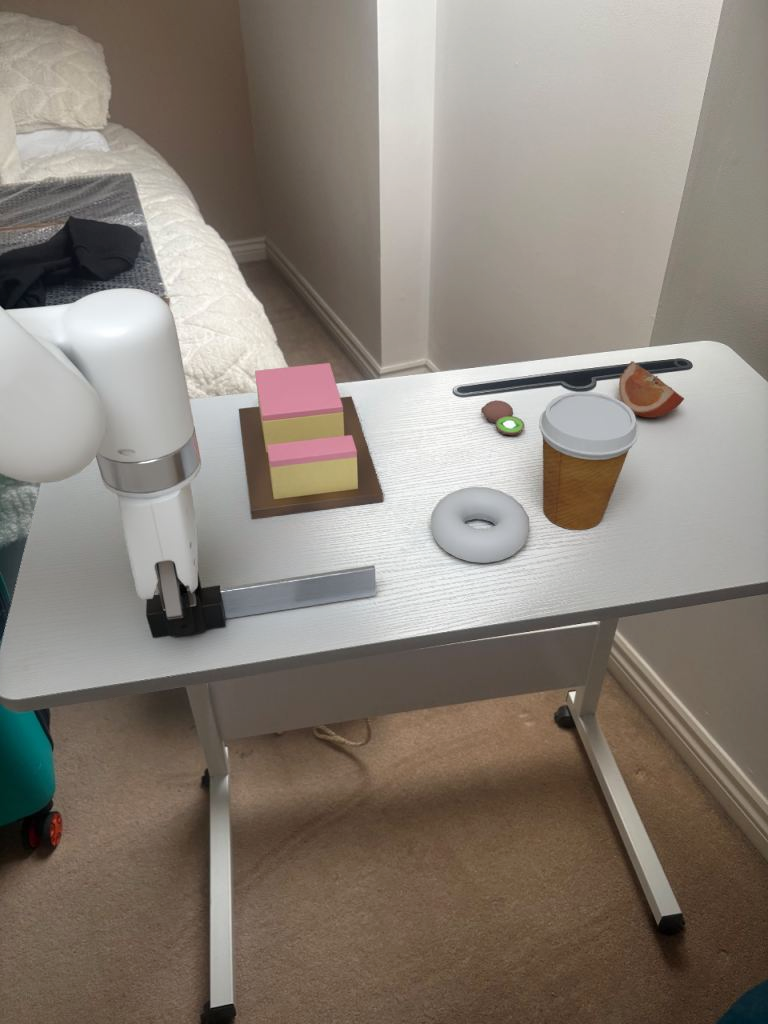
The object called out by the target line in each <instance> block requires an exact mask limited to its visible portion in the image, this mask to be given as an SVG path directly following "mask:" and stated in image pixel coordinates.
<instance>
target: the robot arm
mask: <svg viewBox="0 0 768 1024" xmlns="http://www.w3.org/2000/svg"><path fill="white" fill-rule="evenodd" d="M178 337H179V336H178V331H177V326H176V321H175V317H174V314H173V311H172V310H171V308H170V306H169V305H168V303H167V302H166V301H165V300H164V299H163V298H162V297H160V296H159V295H157V294H155V293H153V292H151V291H148V290H145V289H140V288H131V287H121V288H120V287H119V288H111V289H110V288H109V289H105V290H100V291H96V292H93V293H90V294H88V295H84V296H83V297H81V298H79V299H78V300H76V301H73V302H70V303H65V304H55V305H47V306H46V305H45V306H37V307H36V306H35V307H23V308H12V309H11V308H10V309H4V308H3V307H2V306H1V305H0V474H1V475H3V476H4V477H8V478H10V479H13V480H16V481H20V482H24V483H31V484H50V483H58V482H60V481H63V480H67V479H70V478H71V477H73V476H75V475H77V474H79V473H80V472H82V471H83V470H84V469H86V468H87V467H88V466H89V465H90V464H91V463H92V462H93V460H94V459H95V458H96V459H95V460H96V462H97V465H98V469H99V473H100V476H101V480H102V483H103V485H104V487H105V488H106V489H107V490H108V491H110V492H111V493H113V494H114V495H116V496H117V501H118V507H119V514H120V521H121V526H122V531H123V532H122V533H123V537H124V541H125V545H126V551H127V556H128V560H129V564H130V568H131V572H132V577H133V581H134V586H135V590H136V594H137V595H136V596H137V597H138V598H139V599H141V600H143V601H146V600H147V599H153V596H154V595H155V593H156V589H157V591H158V594H159V595H160V599H161V607H162V611H163V615H164V618H165V622H166V626H167V630H168V634H169V635H168V636H169V637H172V638H174V637H181V636H188V635H194V634H201V633H202V634H203V633H204V632H205V631H206V630H205V622H204V617H203V612H202V608H201V603H200V598H199V596H197V597H196V596H195V589H198V588H202V584H201V577H200V573H199V555H198V553H199V552H198V551H199V549H198V529H197V518H196V517H197V516H196V509H195V504H194V503H195V502H194V496H193V490H192V486H191V483H192V481H194V480H195V479H196V477H197V476H198V474H199V473H200V471H201V469H202V468H201V467H202V460H201V454H200V448H199V443H198V437H197V433H196V426H195V422H194V417H193V411H192V406H191V400H190V394H189V389H188V385H187V380H186V373H185V368H184V362H183V356H182V352H181V347H180V342H179V338H178ZM185 590H186V592H187V593H181V594H180V591H185Z"/></svg>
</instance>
